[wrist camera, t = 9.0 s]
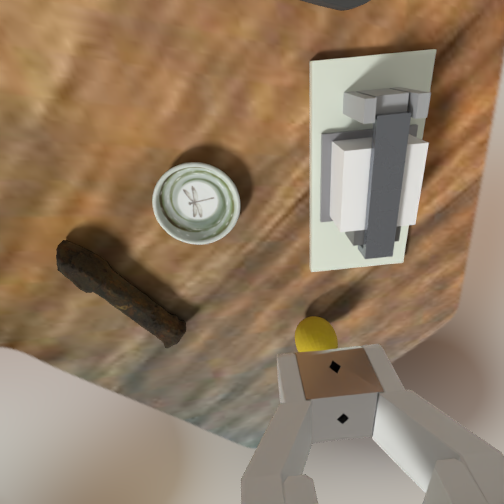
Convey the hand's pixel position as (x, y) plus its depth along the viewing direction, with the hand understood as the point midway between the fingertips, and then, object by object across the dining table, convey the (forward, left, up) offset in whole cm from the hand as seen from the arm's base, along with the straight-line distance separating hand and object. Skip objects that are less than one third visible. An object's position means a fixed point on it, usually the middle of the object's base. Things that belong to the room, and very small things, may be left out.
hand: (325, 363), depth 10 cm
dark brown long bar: (+17, -19, -32) cm, 41 cm away
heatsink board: (+5, +12, -31) cm, 34 cm away
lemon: (+26, +6, -31) cm, 41 cm away
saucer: (+6, -7, -32) cm, 33 cm away
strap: (+5, +12, -27) cm, 29 cm away
